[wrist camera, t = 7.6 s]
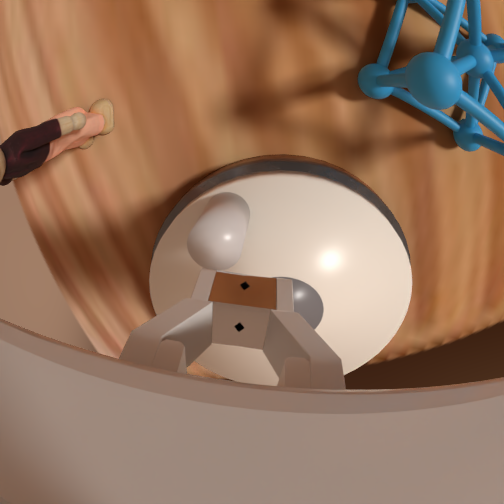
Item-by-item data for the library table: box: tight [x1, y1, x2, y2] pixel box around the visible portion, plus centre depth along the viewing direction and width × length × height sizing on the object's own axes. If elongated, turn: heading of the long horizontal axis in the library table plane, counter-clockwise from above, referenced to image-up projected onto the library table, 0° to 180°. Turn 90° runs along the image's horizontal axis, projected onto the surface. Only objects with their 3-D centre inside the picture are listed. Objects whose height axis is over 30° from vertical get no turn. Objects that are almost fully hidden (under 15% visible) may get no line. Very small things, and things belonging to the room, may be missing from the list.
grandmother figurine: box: [0, 99, 114, 186], centre depth 13 cm, size 8×4×13 cm, turn 122°
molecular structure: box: [358, 0, 504, 156], centre depth 10 cm, size 10×10×10 cm
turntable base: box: [151, 154, 410, 263], centre depth 23 cm, size 20×20×2 cm
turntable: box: [149, 170, 412, 386], centre depth 20 cm, size 19×19×6 cm
